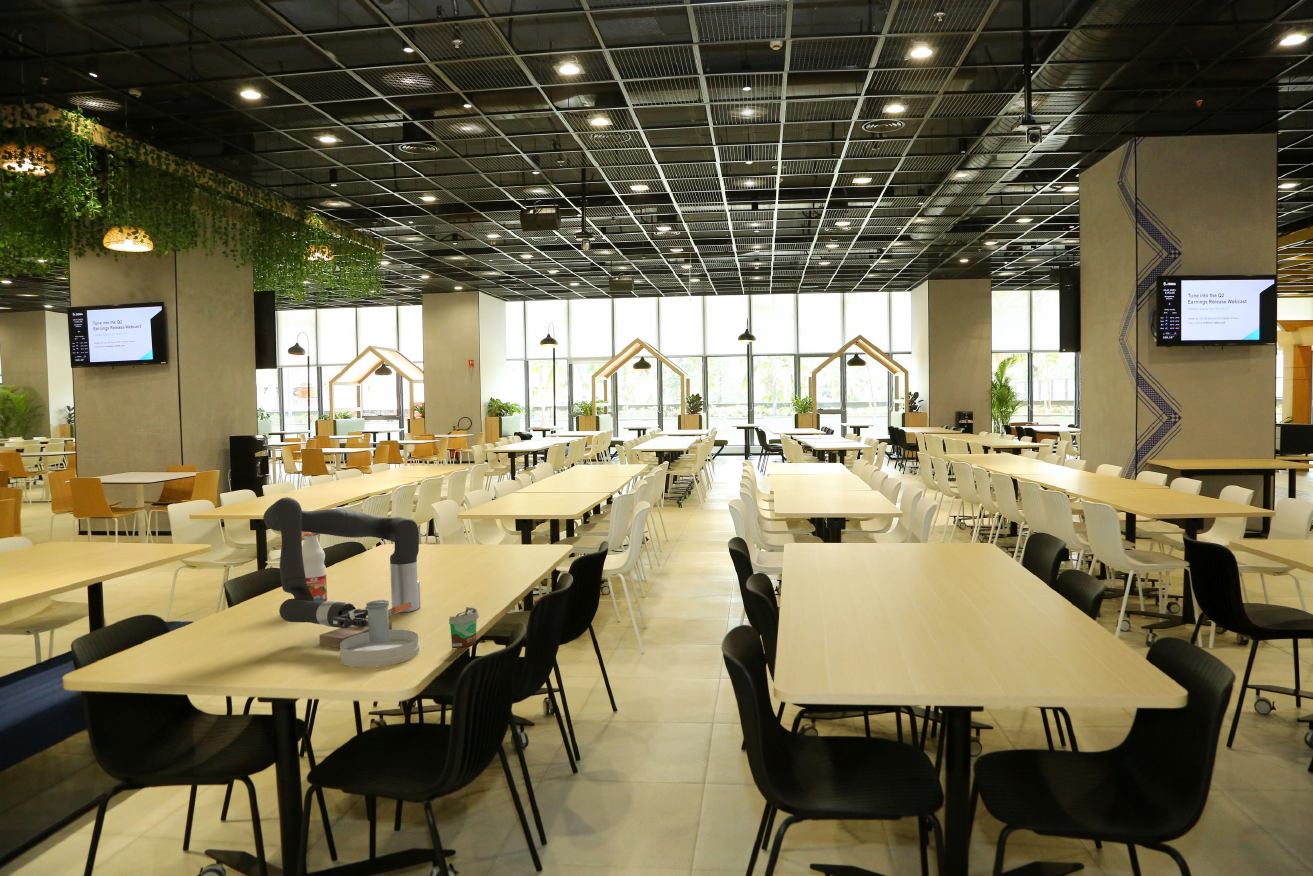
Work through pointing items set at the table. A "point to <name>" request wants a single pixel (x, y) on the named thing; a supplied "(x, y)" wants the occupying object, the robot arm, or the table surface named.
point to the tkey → (398, 609)
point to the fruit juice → (314, 566)
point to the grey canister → (378, 620)
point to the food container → (464, 628)
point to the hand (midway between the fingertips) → (376, 619)
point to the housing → (343, 634)
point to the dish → (379, 649)
